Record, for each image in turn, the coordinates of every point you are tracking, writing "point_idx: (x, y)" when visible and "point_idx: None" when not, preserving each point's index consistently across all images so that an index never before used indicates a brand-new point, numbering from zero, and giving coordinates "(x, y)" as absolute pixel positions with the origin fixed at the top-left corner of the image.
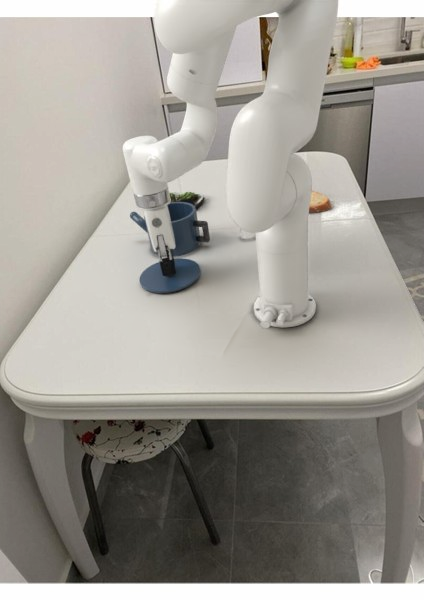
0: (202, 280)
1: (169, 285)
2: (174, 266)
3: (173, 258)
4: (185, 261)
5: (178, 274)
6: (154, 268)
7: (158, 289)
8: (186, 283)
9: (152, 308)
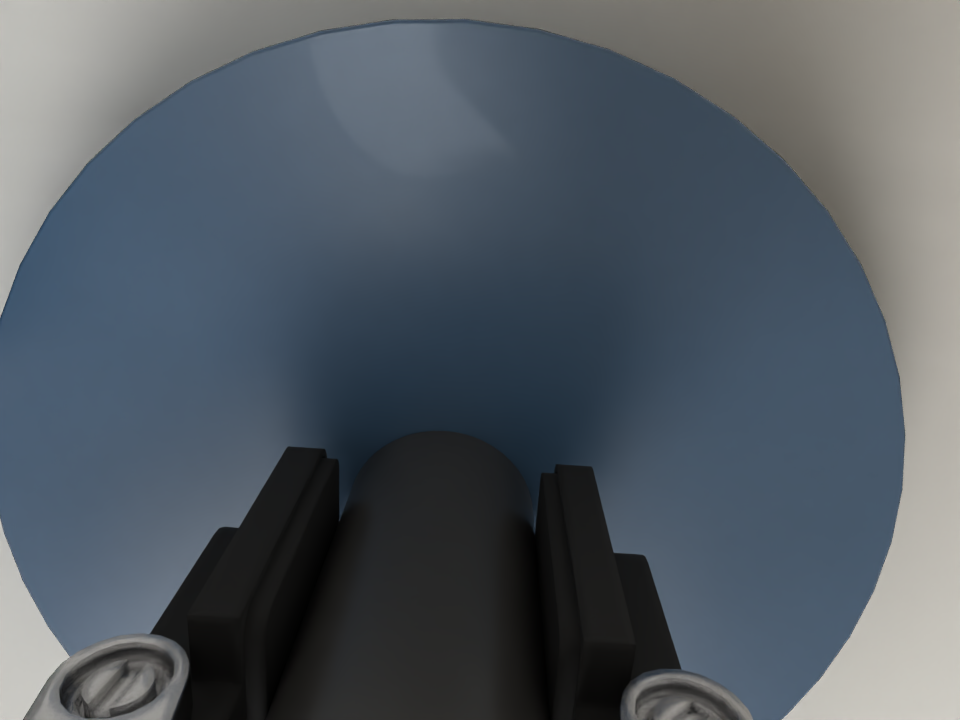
0: (653, 45)
1: (766, 553)
2: (605, 534)
3: (290, 518)
4: (141, 240)
5: (522, 402)
6: None
7: (788, 682)
8: (858, 329)
9: (952, 703)
